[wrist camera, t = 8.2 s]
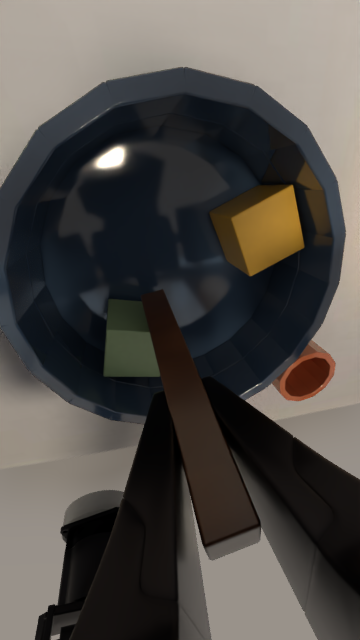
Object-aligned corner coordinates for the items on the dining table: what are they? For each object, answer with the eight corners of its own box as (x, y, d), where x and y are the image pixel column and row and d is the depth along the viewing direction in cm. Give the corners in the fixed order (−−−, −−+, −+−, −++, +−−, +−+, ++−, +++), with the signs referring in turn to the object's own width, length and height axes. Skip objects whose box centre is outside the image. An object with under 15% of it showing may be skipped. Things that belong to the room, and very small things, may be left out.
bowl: (92, 390, 18) (84, 457, 13) (-33, 149, 11) (-135, 124, 6) (279, 333, 19) (327, 376, 15) (280, 86, 12) (373, 30, 8)
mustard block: (226, 261, 15) (250, 277, 12) (208, 212, 13) (230, 218, 11) (272, 237, 15) (305, 247, 12) (258, 184, 13) (293, 183, 11)
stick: (146, 313, 13) (209, 562, 5) (140, 294, 13) (203, 549, 5) (167, 307, 14) (261, 542, 6) (163, 288, 13) (262, 525, 5)
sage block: (105, 341, 15) (103, 377, 13) (108, 298, 14) (106, 329, 12) (153, 343, 16) (159, 377, 14) (161, 302, 15) (170, 333, 12)
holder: (255, 375, 20) (279, 408, 17) (253, 335, 18) (279, 364, 15) (300, 360, 21) (331, 390, 18) (302, 319, 19) (338, 345, 16)
